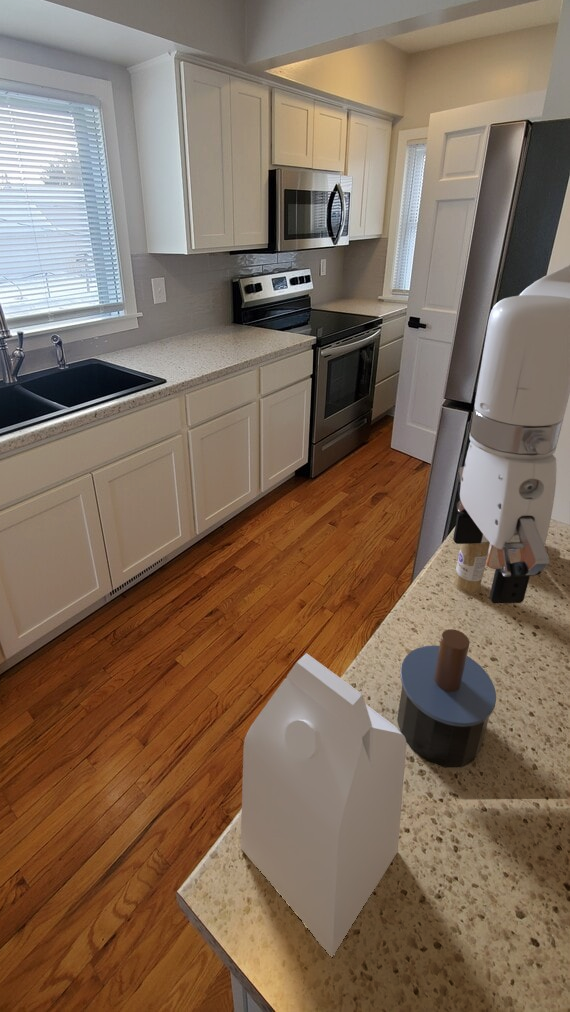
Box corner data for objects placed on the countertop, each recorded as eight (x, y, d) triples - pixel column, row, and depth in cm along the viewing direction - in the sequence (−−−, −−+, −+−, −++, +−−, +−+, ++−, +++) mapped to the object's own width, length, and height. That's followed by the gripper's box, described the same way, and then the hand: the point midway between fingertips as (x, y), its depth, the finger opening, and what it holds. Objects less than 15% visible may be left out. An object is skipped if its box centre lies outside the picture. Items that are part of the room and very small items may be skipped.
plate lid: (472, 651, 64) (482, 604, 61) (511, 730, 55) (526, 679, 51) (390, 652, 65) (396, 605, 61) (414, 730, 55) (423, 680, 51)
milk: (397, 851, 51) (428, 678, 40) (332, 959, 44) (348, 783, 33) (308, 768, 59) (314, 605, 48) (240, 848, 52) (229, 676, 41)
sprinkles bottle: (447, 581, 88) (458, 519, 82) (469, 577, 89) (481, 515, 83) (463, 599, 84) (476, 535, 78) (486, 594, 85) (500, 530, 79)
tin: (461, 695, 67) (471, 650, 64) (494, 770, 58) (507, 723, 55) (389, 695, 68) (394, 651, 64) (410, 770, 58) (418, 723, 55)
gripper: (614, 471, 39) (564, 629, 46) (509, 396, 55) (484, 523, 62) (519, 474, 39) (484, 631, 46) (442, 399, 55) (425, 524, 62)
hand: (484, 569), depth 54 cm, fingers open, 9 cm apart
